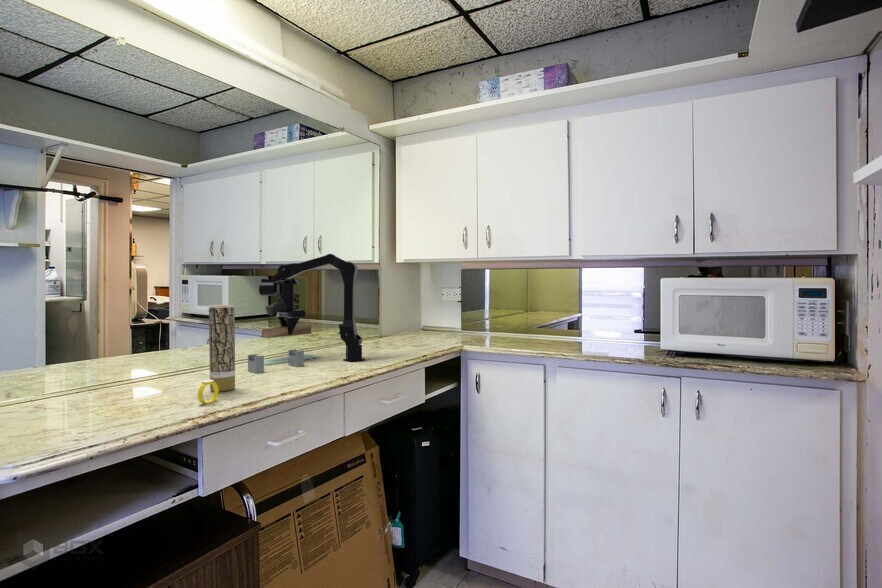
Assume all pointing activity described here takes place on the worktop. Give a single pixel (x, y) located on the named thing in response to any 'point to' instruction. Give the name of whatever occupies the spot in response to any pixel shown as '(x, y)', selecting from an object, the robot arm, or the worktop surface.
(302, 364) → the post
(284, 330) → the rail
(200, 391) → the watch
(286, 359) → the mat
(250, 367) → the post
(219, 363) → the brown tall cylinder
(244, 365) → the worktop surface
